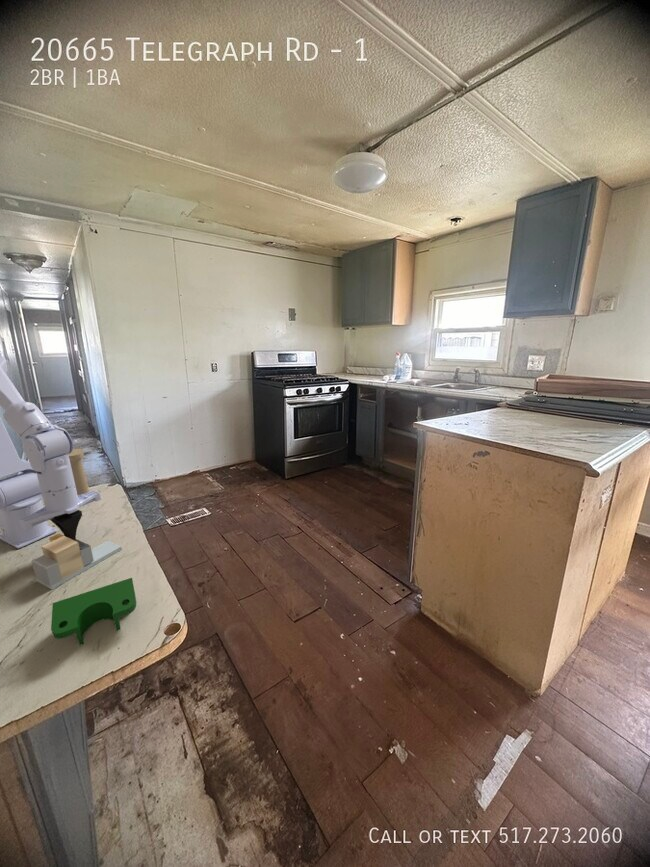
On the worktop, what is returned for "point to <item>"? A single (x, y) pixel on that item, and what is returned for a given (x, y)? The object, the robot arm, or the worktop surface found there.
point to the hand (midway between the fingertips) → (71, 541)
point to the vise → (52, 578)
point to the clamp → (92, 609)
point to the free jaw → (84, 549)
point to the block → (64, 555)
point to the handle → (78, 471)
